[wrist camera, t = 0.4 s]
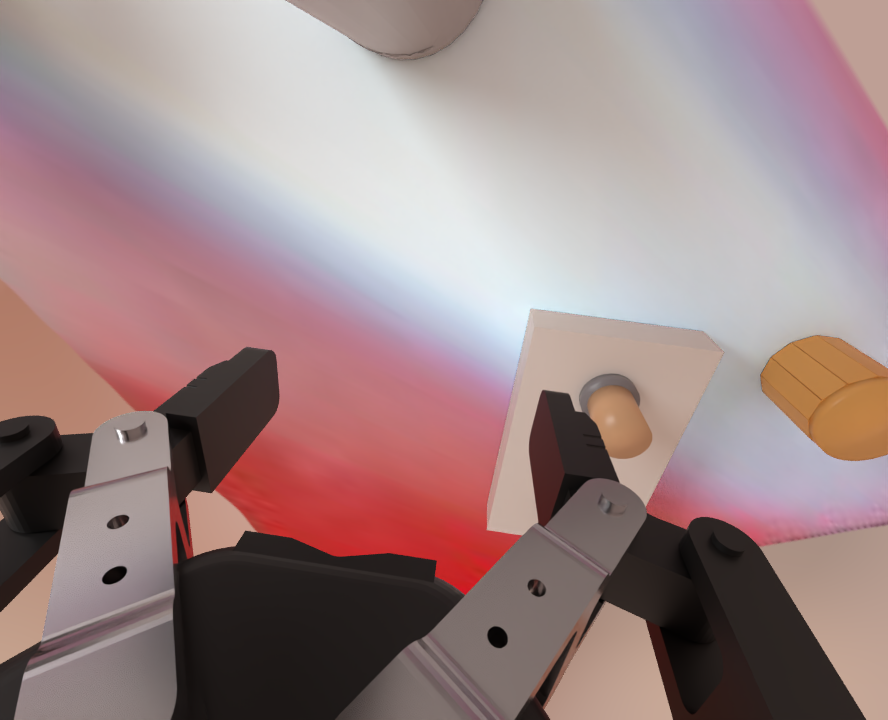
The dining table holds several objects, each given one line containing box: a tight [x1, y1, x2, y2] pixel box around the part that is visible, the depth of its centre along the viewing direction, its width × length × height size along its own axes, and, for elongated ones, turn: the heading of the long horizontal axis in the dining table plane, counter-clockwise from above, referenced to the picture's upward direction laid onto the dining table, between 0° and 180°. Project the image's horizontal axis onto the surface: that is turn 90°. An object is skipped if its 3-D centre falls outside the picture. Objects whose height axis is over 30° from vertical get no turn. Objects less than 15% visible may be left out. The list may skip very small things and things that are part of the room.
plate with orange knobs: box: [487, 309, 724, 535], centre depth 31 cm, size 20×12×8 cm, turn 174°
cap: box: [761, 335, 888, 461], centre depth 27 cm, size 6×6×6 cm
